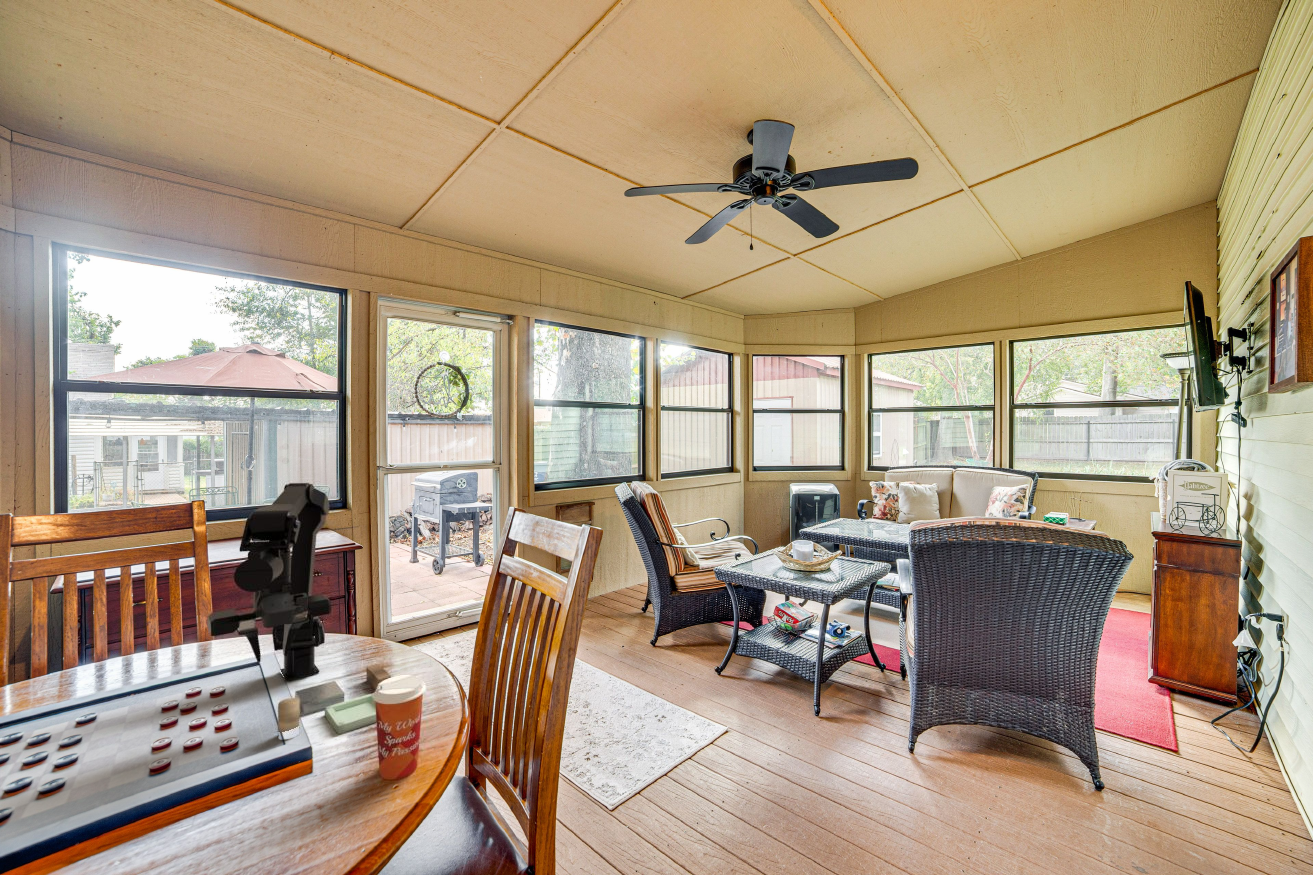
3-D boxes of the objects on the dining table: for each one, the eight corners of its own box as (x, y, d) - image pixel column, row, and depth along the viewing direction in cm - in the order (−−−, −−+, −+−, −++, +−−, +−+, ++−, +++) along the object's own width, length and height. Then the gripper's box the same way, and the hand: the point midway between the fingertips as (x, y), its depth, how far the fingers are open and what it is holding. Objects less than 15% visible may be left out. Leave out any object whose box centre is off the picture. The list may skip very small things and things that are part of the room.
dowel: (276, 734, 100) (276, 701, 100) (297, 728, 103) (297, 695, 103) (279, 742, 98) (280, 708, 98) (301, 735, 100) (301, 702, 100)
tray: (324, 714, 107) (324, 707, 107) (375, 699, 114) (375, 692, 114) (338, 734, 101) (338, 726, 101) (390, 717, 107) (390, 709, 107)
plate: (295, 703, 112) (295, 691, 112) (334, 692, 117) (334, 680, 117) (303, 717, 107) (303, 704, 107) (344, 705, 112) (344, 692, 112)
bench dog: (366, 680, 122) (366, 666, 122) (378, 677, 123) (378, 663, 123) (378, 693, 116) (378, 679, 116) (391, 690, 118) (391, 676, 118)
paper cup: (372, 789, 86) (373, 699, 86) (371, 762, 93) (372, 678, 93) (427, 775, 90) (428, 689, 89) (423, 750, 97) (423, 669, 96)
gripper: (214, 596, 94) (214, 689, 94) (339, 576, 107) (339, 658, 107) (207, 581, 102) (207, 667, 102) (324, 565, 115) (323, 641, 115)
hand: (272, 658), depth 106 cm, fingers open, 4 cm apart
